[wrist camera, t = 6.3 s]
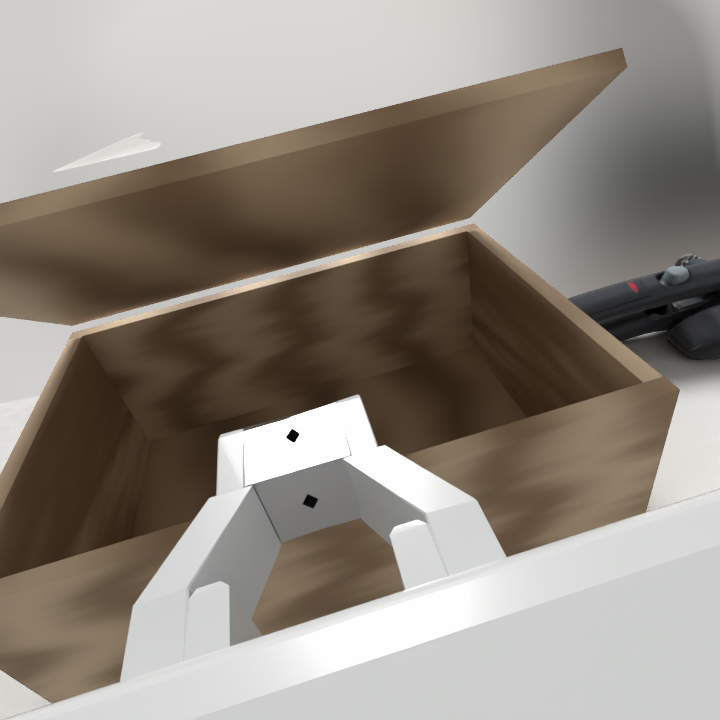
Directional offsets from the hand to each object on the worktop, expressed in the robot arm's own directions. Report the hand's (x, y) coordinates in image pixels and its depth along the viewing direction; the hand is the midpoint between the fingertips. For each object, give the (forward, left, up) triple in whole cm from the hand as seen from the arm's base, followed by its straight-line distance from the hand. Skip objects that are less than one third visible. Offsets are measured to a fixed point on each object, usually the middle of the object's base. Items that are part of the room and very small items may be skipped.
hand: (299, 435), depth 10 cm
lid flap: (0, +14, -1) cm, 14 cm away
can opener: (+22, +17, -16) cm, 32 cm away
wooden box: (0, +12, -16) cm, 20 cm away
